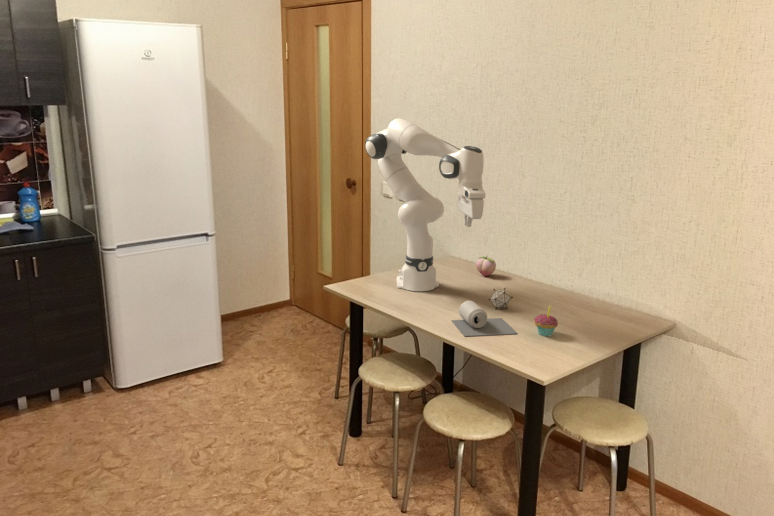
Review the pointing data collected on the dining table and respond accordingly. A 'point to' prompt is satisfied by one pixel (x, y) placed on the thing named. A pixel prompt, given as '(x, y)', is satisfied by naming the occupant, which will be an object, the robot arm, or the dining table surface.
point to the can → (473, 314)
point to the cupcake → (546, 323)
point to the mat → (485, 328)
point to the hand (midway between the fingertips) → (467, 226)
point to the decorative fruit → (486, 266)
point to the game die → (500, 298)
